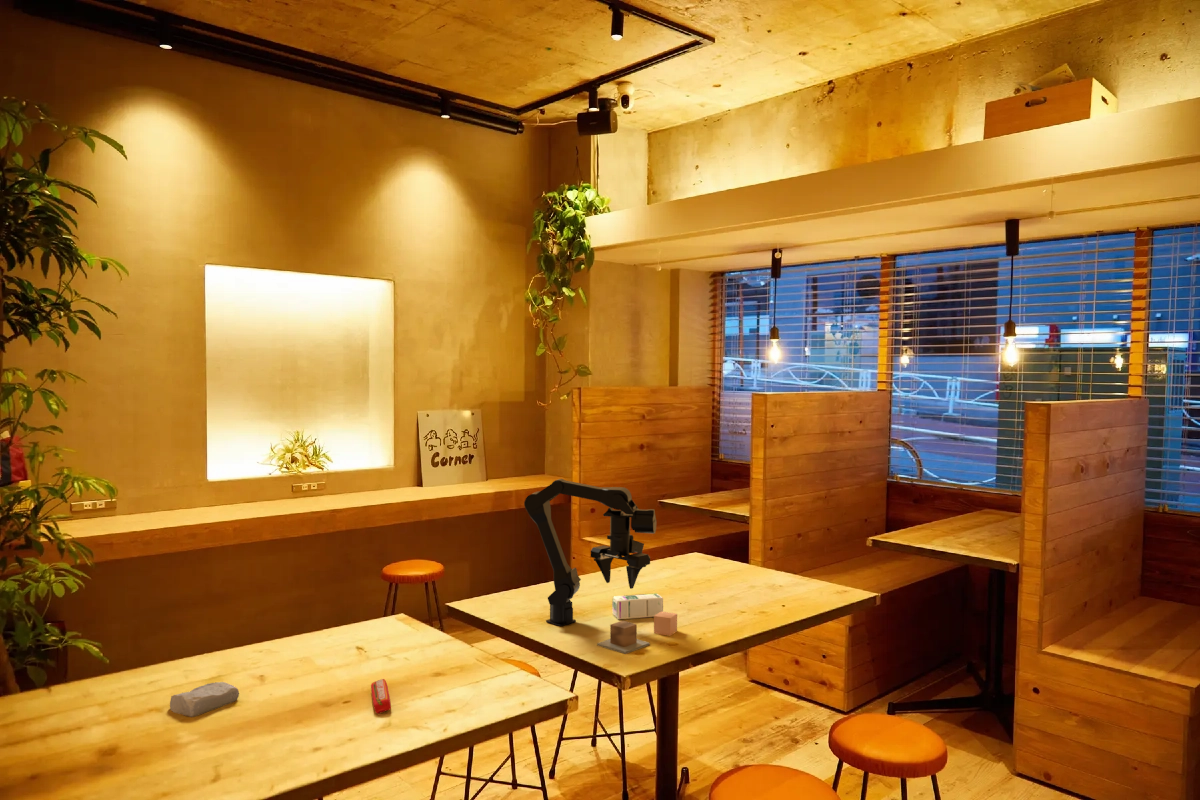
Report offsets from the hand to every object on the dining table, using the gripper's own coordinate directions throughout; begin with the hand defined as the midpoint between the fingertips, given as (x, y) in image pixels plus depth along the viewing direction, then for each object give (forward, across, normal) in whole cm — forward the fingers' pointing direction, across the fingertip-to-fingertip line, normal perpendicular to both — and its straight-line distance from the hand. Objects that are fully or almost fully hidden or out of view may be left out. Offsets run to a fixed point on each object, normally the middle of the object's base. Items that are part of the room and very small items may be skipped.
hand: (619, 585), depth 236 cm
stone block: (+13, +27, +106) cm, 110 cm away
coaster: (+12, -12, +12) cm, 20 cm away
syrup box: (+9, 0, -18) cm, 21 cm away
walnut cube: (+11, -12, +11) cm, 20 cm away
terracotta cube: (+12, -13, -6) cm, 18 cm away
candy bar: (+13, +1, +77) cm, 78 cm away
